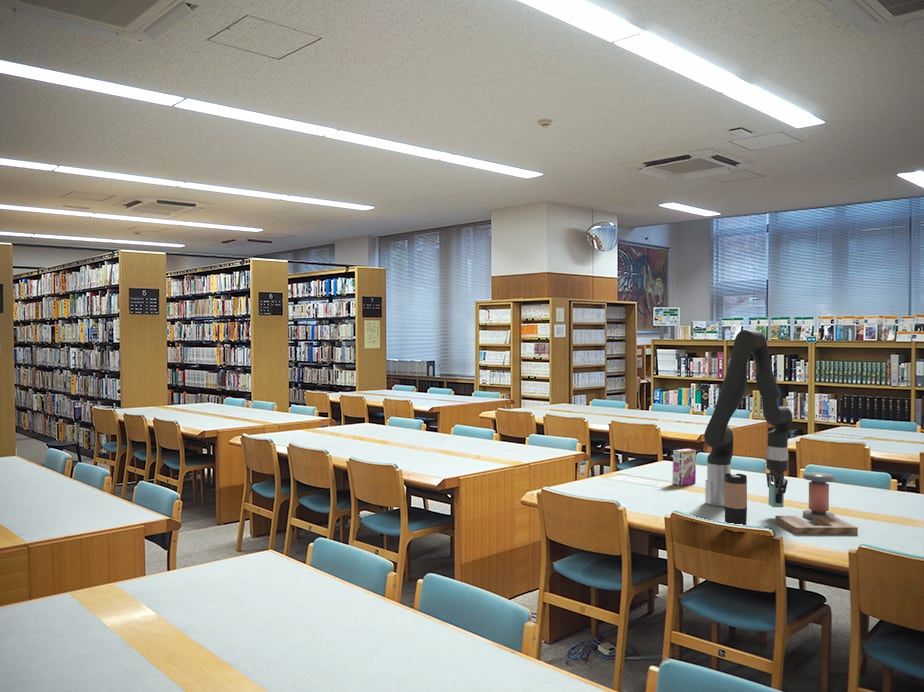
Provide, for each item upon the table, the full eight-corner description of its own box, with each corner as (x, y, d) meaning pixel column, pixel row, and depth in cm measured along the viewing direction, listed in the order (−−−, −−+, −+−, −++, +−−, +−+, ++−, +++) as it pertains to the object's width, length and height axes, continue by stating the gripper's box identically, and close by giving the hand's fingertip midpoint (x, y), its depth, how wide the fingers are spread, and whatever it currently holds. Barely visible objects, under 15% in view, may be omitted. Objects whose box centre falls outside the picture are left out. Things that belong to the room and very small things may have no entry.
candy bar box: (680, 486, 321) (680, 451, 320) (672, 484, 325) (672, 450, 325) (696, 483, 327) (696, 449, 326) (688, 481, 331) (688, 448, 331)
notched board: (795, 534, 243) (795, 527, 243) (775, 522, 259) (775, 515, 259) (857, 534, 243) (857, 527, 243) (833, 522, 259) (833, 515, 259)
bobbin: (811, 521, 260) (811, 478, 260) (797, 513, 271) (797, 472, 271) (840, 521, 260) (840, 478, 260) (825, 513, 271) (825, 472, 271)
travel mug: (739, 534, 243) (739, 478, 243) (720, 529, 250) (720, 474, 249) (751, 530, 248) (751, 475, 248) (732, 525, 254) (732, 472, 254)
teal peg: (772, 507, 264) (773, 486, 264) (768, 504, 268) (769, 484, 268) (783, 507, 264) (783, 486, 264) (778, 504, 268) (779, 484, 268)
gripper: (759, 454, 272) (758, 496, 273) (775, 461, 258) (774, 506, 259) (778, 454, 272) (777, 497, 273) (795, 461, 258) (794, 506, 259)
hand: (776, 501), depth 266 cm, fingers closed on teal peg, 4 cm apart
